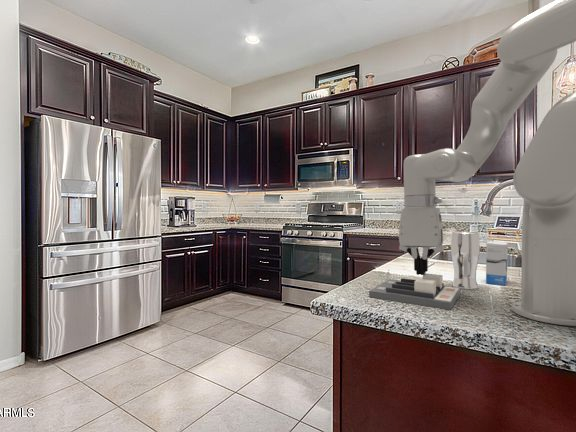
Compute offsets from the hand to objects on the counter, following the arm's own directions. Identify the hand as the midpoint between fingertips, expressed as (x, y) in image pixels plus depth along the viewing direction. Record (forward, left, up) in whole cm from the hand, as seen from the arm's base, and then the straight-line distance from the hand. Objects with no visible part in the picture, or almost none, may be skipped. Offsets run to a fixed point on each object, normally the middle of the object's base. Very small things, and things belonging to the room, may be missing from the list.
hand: (421, 273), depth 83 cm
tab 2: (-3, 0, -3) cm, 4 cm away
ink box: (-16, -25, -5) cm, 30 cm away
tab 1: (-3, +8, -3) cm, 9 cm away
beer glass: (-9, -13, -5) cm, 16 cm away
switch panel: (0, +4, -5) cm, 6 cm away
